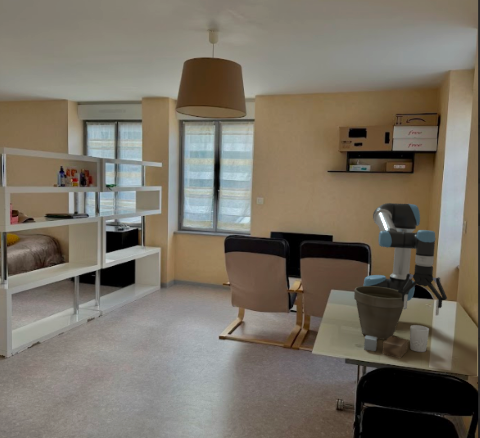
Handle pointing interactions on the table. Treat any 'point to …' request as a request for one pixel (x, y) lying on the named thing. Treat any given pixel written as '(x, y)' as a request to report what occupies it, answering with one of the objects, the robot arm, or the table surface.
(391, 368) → the table surface
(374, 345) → the grey cube
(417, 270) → the robot arm
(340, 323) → the table surface
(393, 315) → the plant pot
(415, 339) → the white cup
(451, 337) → the table surface
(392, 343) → the walnut block
